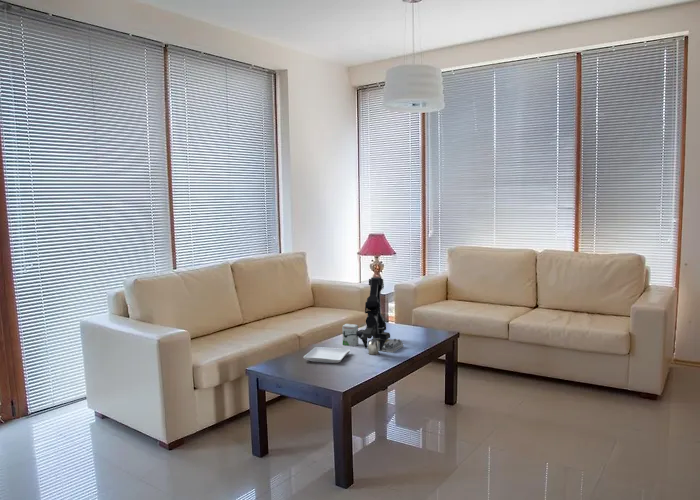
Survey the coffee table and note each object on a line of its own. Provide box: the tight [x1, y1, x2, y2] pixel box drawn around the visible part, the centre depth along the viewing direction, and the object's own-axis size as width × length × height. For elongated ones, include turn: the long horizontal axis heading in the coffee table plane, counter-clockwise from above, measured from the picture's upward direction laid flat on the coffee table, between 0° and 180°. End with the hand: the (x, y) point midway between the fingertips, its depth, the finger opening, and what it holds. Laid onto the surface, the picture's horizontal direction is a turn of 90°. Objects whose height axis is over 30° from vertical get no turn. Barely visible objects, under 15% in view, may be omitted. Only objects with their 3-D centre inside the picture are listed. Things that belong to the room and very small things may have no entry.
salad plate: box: [302, 346, 352, 364], centre depth 296 cm, size 21×21×3 cm
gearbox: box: [367, 338, 404, 354], centre depth 312 cm, size 16×14×5 cm
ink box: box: [341, 323, 359, 347], centre depth 321 cm, size 9×5×12 cm, turn 68°
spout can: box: [367, 337, 379, 356], centre depth 301 cm, size 6×6×8 cm
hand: (373, 349), depth 302 cm, fingers open, 9 cm apart
